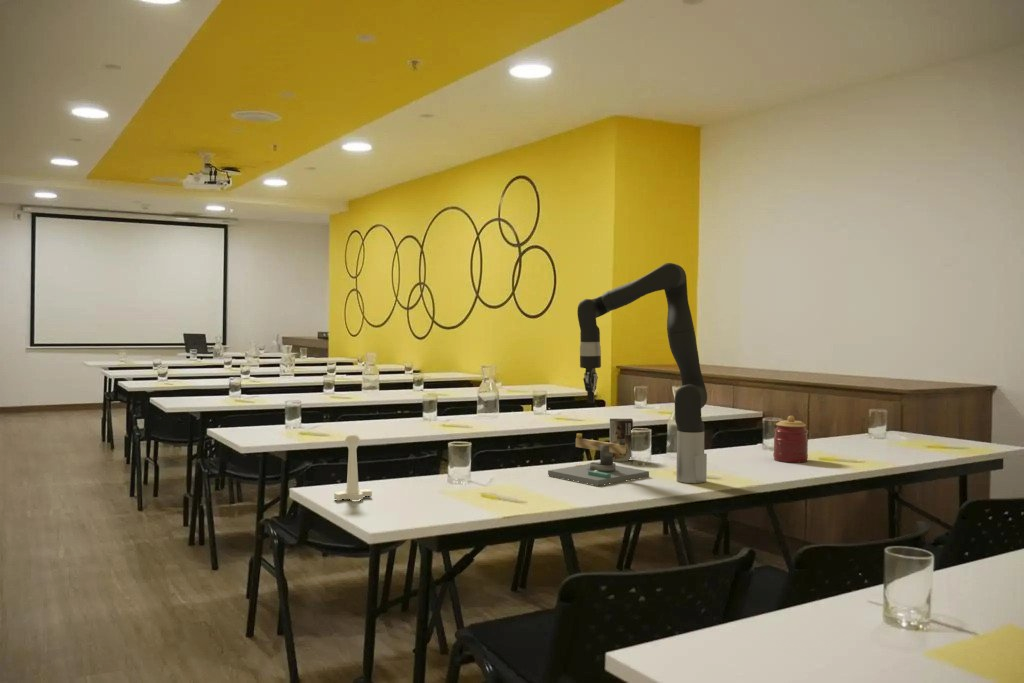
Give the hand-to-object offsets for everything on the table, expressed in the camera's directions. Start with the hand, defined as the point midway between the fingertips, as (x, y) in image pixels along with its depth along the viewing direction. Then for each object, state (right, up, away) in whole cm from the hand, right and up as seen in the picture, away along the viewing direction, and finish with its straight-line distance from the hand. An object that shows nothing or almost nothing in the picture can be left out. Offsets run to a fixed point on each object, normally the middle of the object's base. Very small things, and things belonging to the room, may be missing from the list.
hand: (590, 402), depth 307 cm
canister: (+81, -25, +28) cm, 89 cm away
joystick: (-77, -27, -46) cm, 93 cm away
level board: (+2, -25, -7) cm, 27 cm away
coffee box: (+14, -25, +27) cm, 39 cm away
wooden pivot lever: (+3, -23, -5) cm, 24 cm away
